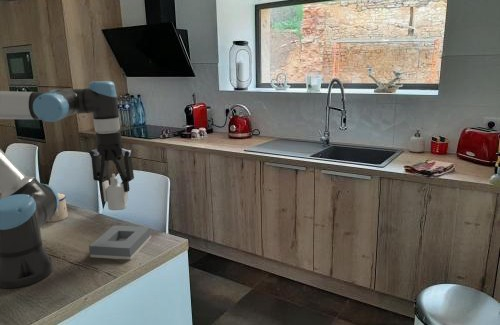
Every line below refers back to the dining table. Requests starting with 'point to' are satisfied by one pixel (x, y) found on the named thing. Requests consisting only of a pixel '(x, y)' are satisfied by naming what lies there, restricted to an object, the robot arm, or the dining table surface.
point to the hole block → (120, 242)
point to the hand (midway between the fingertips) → (116, 200)
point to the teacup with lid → (60, 210)
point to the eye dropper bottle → (114, 195)
